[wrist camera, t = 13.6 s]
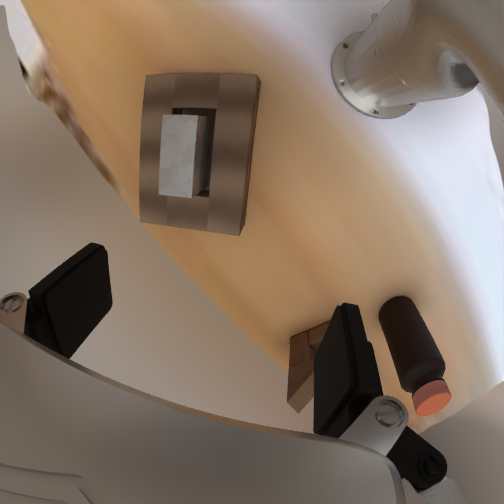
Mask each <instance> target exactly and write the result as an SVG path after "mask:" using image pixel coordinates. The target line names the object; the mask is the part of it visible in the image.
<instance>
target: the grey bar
mask: <svg viewBox="0 0 504 504" xmlns="http://www.w3.org/2000/svg"><path fill="white" fill-rule="evenodd" d="M215 120H216V118H215V117H207V116H199V115H163V119H162V132H161V147H160V167H159V195H168V196H177V197H186V198H193V197H194V196H195V195H197V194H198V193H199V192H201V191H202V190H204V189H205V188H206V187H208V186H209V185H210V177H211V164H212V152H213V140H214V130H215Z"/></svg>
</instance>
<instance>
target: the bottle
mask: <svg viewBox="0 0 504 504" xmlns="http://www.w3.org/2000/svg"><path fill="white" fill-rule="evenodd" d="M379 321H380V324H381V327H382V330H383V332H384V335H385V338H386V341H387V344H388V347H389V350H390V353H391V356H392V359H393V362H394V365H395V368H396V371H397V375H398V378H399V381H400V384H401V387H402V389H404V390H405V391H406V392H410V393H412V400H413V404H414V408H415V411H416V414H417V415H419V416H427V415H431V414H434V413H436V412H438V411H439V410H441V409H442V408H444V407H445V406H446V405H447V404H448V403H449V401H450V399H451V393H450V391H449V389H448V386H447V384H446V382H445V380H444V379H443V378H442V376H443V374H444V371H445V362H444V360H443V358H442V355H441V353H440V351H439V349H438V347H437V345H436V343H435V341H434V339H433V337H432V336H431V334H430V332H429V330H428V328H427V326H426V324H425V322H424V320H423V319H422V317H421V315H420V313H419V311H418V310H417V308H416V306H415V304H414V303H413V301H412V300H411V299H409V298H407V297H402V296H401V297H395V298H393V299H391V300H389V301H388V302H387V303H385V304H384V306H383V307H382V308H381V310H380V313H379Z"/></svg>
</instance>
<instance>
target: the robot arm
mask: <svg viewBox="0 0 504 504" xmlns="http://www.w3.org/2000/svg"><path fill="white" fill-rule="evenodd" d="M343 46H346V49H345V48H344V47H343ZM331 69H332V77H333V80H334V83H335V85H336V87H337V89H338V91H339V93H340V94H341V96H342V97H343V98H344V100H345V101H347V102H348V103H349V104H350V105H351V106H352V107H353V108H355V109H356V110H357V111H359V112H361V113H363V114H365V115H367V116H370V117H374V118H380V119H391V118H397V117H400V116H402V115H405V114H406V113H408V112H409V111H410V110H411V109H412V108H413V107H414V106H415V105H416V103H417V102H424V101H432V100H439V99H447V98H454V97H459V96H462V95H464V94H466V93H468V92H470V91H471V90H472V89H474V88H475V86H476V85H477V84H478V83H479V82H480V83H481V84H482V86H483V88H484V89H485V91H486V92H487V94H488V95H489V97H491V99H492V100H493V102H494V104H495V106H496V107H497V109H498V111H499V113H500V115H501V116H502V118H503V120H504V0H390V1H389V2H388V3H387V5H386V6H385V7H384V8H383V9H382V11H381V12H380V13H379V14H373V15H372V23H371V24H370V25H369V27H368V28H367V29H366V30H365V31H363V32H358V33H354V34H352V35H350V36H348V37H347V38H345V39H344V40H343V41H342V42H341V43H340V44H339V45H338V47H337V48H336V50H335V52H334V55H333V58H332V65H331ZM340 82H341V83H343V86H341V85H340ZM373 110H375V114H374V113H373ZM29 295H30V298H29V299H28V300H27V297H26V296H25V295H24V294H23V293H20V292H13V293H9V294H7V295H5V296H4V297H3V298H1V299H0V504H470V503H469V501H468V500H467V498H466V497H465V496H464V494H463V492H462V491H461V490H460V488H459V487H458V485H457V484H456V482H455V481H454V480H453V478H452V477H451V476H450V477H449V478H447V476H446V472H447V463H446V460H445V458H444V456H443V455H442V454H441V453H440V452H439V451H438V450H436V449H435V448H434V447H433V446H431V445H430V444H429V443H428V442H426V441H425V440H424V439H423V438H421V437H420V436H419V435H418V434H416V433H415V432H414V431H413V430H412V429H410V428H409V427H408V426H407V422H408V412H407V409H406V407H405V406H404V404H403V403H402V402H400V401H399V400H398V399H396V398H394V397H391V396H383V391H382V386H381V381H380V376H379V372H378V367H377V363H376V359H375V355H374V350H373V346H372V344H371V342H369V341H367V337H366V333H365V329H364V325H363V321H362V318H361V314H360V310H359V307H358V305H354V304H349V303H343V304H342V305H341V306H339V305H338V306H337V307H336V309H335V311H334V314H333V316H332V319H331V321H330V323H329V326H328V328H327V330H326V332H325V335H324V337H323V339H322V341H321V344H320V346H319V348H318V350H317V352H316V355H315V358H314V428H313V430H314V434H311V433H305V432H298V431H292V430H285V429H280V428H274V427H269V426H264V425H259V424H254V423H249V422H244V421H239V420H235V419H230V418H226V417H222V416H218V415H215V414H211V413H207V412H203V411H200V410H196V409H193V408H189V407H186V406H183V405H180V404H177V403H173V402H170V401H167V400H164V399H162V398H159V397H156V396H153V395H150V394H147V393H145V392H142V391H139V390H137V389H134V388H132V387H129V386H126V385H124V384H122V383H119V382H117V381H115V380H112V379H110V378H108V377H105V376H103V375H101V374H99V373H97V372H94V371H92V370H90V369H88V368H86V367H84V366H82V365H80V364H78V363H76V362H74V361H72V360H70V357H72V355H73V354H74V353H75V351H76V350H77V349H78V348H79V346H80V345H81V344H82V343H83V342H84V340H85V339H86V338H87V337H88V335H89V334H90V333H91V332H92V331H93V329H94V328H95V327H96V326H97V325H98V323H99V322H100V321H101V320H102V319H103V317H104V316H105V315H106V314H107V313H108V311H109V310H110V309H111V307H112V293H111V285H110V276H109V265H108V254H107V251H106V250H105V248H104V246H103V245H100V244H96V243H89V244H88V245H87V246H85V247H84V248H83V249H81V250H80V251H78V252H77V253H76V254H75V255H73V256H72V257H70V258H69V259H68V260H66V261H65V262H64V263H62V264H61V265H60V266H58V267H57V268H56V269H55V270H53V271H52V272H51V273H50V274H48V275H47V276H46V277H45V278H43V279H42V280H41V281H40V282H39V283H37V284H36V285H35V286H34V287H32V288H31V289H30V290H29ZM317 434H318V435H317Z"/></svg>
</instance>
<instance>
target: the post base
mask: <svg viewBox="0 0 504 504" xmlns="http://www.w3.org/2000/svg"><path fill="white" fill-rule="evenodd" d="M260 83H261V81H260V79H259V78H258V76H257V75H250V74H233V73H174V74H157V75H146V80H145V89H144V99H143V110H142V124H141V142H140V176H139V198H140V222H144V223H151V224H158V225H166V226H173V227H180V228H187V229H194V230H201V231H208V232H215V233H222V234H228V235H235V236H239V235H240V233H241V231H242V229H243V227H244V225H245V216H246V207H247V197H248V188H249V179H250V170H251V161H252V152H253V143H254V134H255V126H256V117H257V109H258V100H259V92H260ZM163 115H199V116H207V117H215V118H216V120H215V130H214V140H213V152H212V164H211V177H210V185H209V186H208V187H206V188H205V189H204V190H202V191H201V192H199V193H198V194H197V195H195V196H194V197H193V198H186V197H177V196H168V195H159V167H160V147H161V132H162V119H163Z"/></svg>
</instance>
